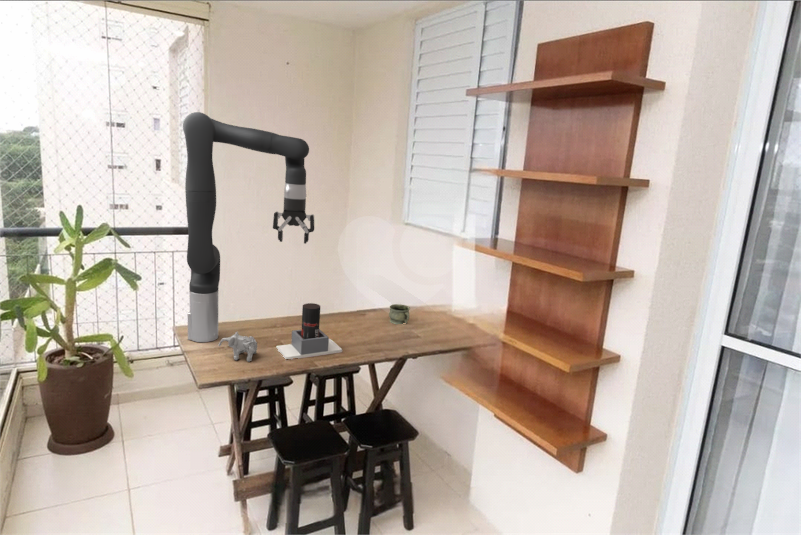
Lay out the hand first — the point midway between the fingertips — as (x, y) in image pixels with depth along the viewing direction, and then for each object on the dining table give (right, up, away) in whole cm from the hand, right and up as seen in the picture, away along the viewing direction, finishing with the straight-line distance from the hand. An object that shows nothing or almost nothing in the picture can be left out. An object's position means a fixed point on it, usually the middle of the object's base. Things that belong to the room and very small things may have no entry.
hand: (293, 242), depth 180 cm
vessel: (+37, -32, +30) cm, 58 cm away
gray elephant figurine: (-14, -38, -17) cm, 44 cm away
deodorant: (+7, -37, -7) cm, 38 cm away
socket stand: (+7, -37, -7) cm, 39 cm away
